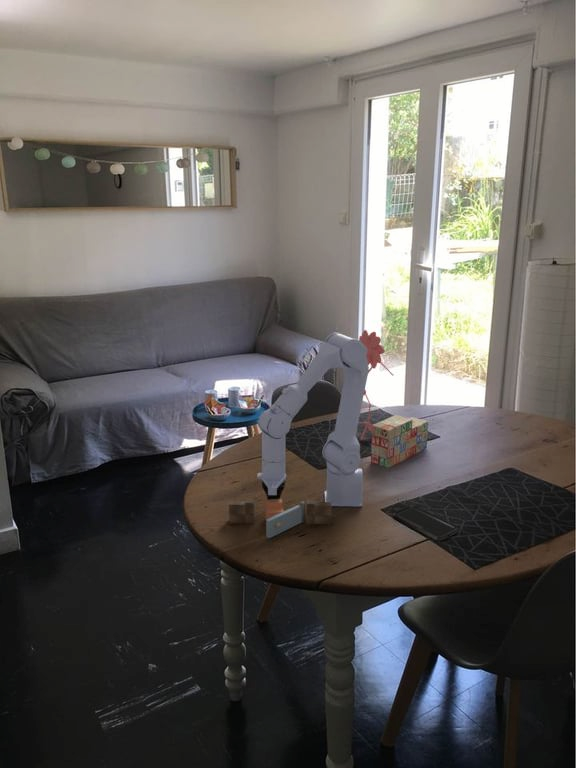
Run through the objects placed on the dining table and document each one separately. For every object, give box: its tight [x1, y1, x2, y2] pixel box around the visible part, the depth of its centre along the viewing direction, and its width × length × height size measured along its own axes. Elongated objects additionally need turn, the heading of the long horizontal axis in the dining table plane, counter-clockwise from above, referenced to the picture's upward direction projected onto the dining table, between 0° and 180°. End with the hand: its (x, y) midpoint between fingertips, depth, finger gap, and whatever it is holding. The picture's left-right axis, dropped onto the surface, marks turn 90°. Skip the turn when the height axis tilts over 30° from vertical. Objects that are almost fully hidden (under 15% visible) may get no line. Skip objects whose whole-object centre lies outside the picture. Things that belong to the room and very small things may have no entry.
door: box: [265, 501, 306, 539], centre depth 151 cm, size 12×2×5 cm, turn 134°
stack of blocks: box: [370, 414, 429, 469], centre depth 194 cm, size 21×6×12 cm, turn 136°
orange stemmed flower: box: [358, 329, 394, 441], centre depth 210 cm, size 15×26×35 cm, turn 36°
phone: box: [392, 505, 459, 541], centre depth 155 cm, size 8×1×15 cm
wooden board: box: [228, 498, 333, 525], centre depth 155 cm, size 25×2×6 cm, turn 89°
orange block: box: [265, 498, 285, 520], centre depth 154 cm, size 4×6×5 cm, turn 10°
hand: (273, 508), depth 158 cm, fingers closed
